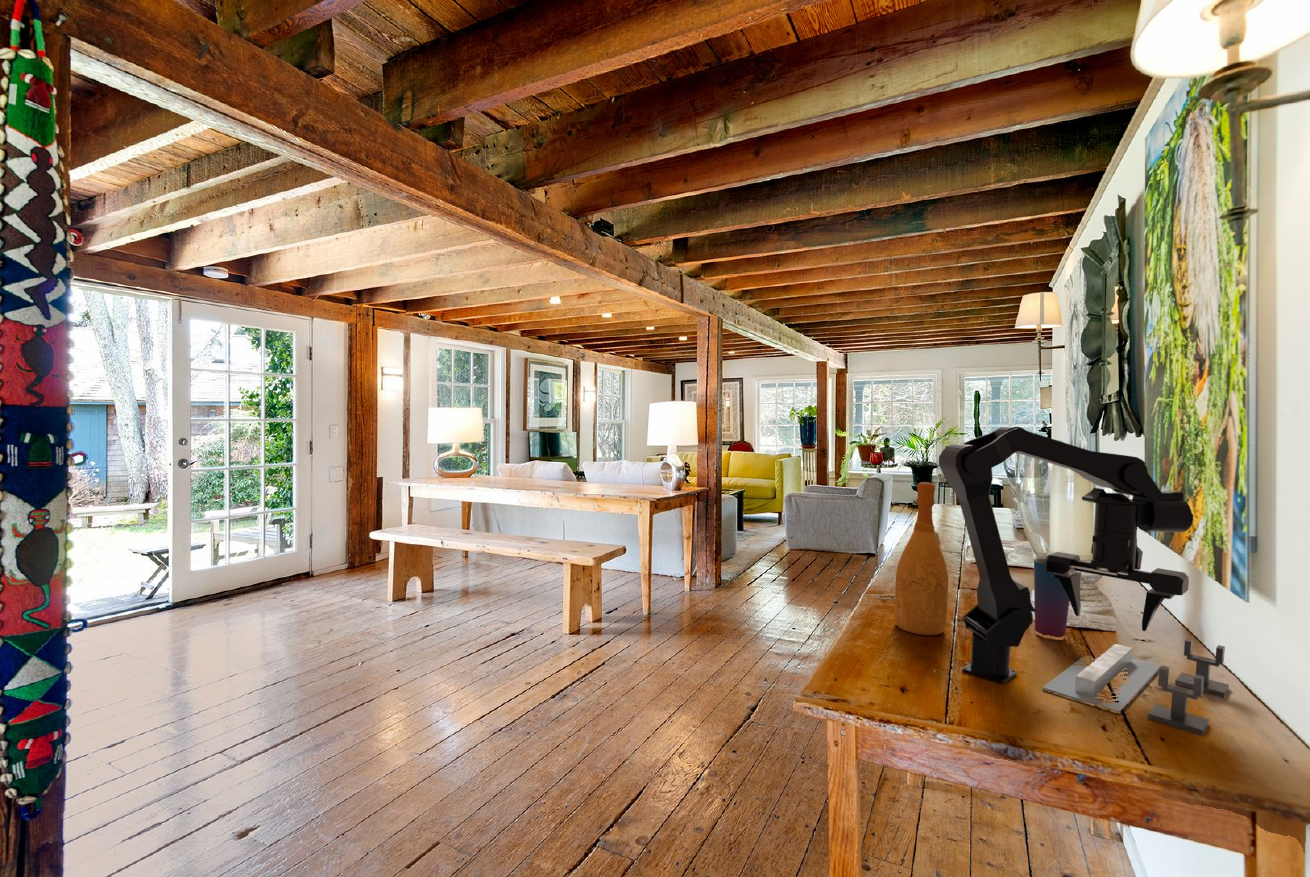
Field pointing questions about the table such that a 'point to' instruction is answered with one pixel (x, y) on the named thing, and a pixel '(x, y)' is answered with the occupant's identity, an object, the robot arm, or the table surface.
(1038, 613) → the cup
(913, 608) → the wine bottle
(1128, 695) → the mat
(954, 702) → the table surface
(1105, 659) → the rail
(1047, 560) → the robot arm
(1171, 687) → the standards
